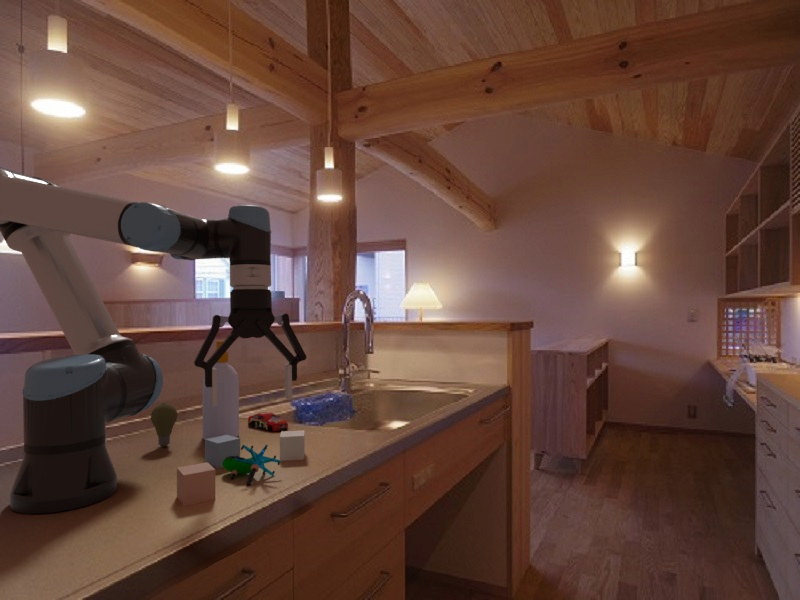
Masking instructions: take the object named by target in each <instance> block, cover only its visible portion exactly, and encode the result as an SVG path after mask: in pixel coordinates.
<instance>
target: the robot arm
mask: <svg viewBox="0 0 800 600" xmlns="http://www.w3.org/2000/svg"><path fill="white" fill-rule="evenodd" d="M270 219H271V218H270V213H269V210H268V209H266V208H265V207H263V206H259V205H254V204H253V205H252V204H240V205H239V204H238V205H233V206H231V207H230V208H229V210H228V214H227V217H225V218H214V219H213V218H210V219H209V218H208V219H205V218H204V219H203V218H198V217H196V216H192V215H190V214H187V213H184V212H180V211H177V210H174V209H171V208H168V207H166V206H165V205H163V204H159V203H153V202H148V201H147V202H146V201H143V202H137V201H134V200H130V199H124V198H119V197H114V196H109V195H103V194H98V193H92V192H89V191H88V192H87V191H84V190H83V191H82V190H79V189H78V190H77V189H72V188H69V187H68V188H67V187H63V186H58V185H57V184H55V183H53V182H49V180H46V179H43V178H40V177H37V176H30V175H27V174H24V173H21V172H16V171H15V170H11V169H7V168H3V167H0V233H1V235H2V237H3V239H4V241H5V242H6V244H7V247H8V248H9V249H11V250H13V251H16V252H19V253H21V254H22V256H23V259H24V260H25V262H26V264H27V266H28V268H29V270H30V271H31V273H32V275H33V277H34V280H35V281H36V283H37V285H38V287H39V289H40V291H41V293H42V295H43V297H44V298H45V300H46V302H47V304H48V306H49V307H50V308H49V309H51V312H52V313H53V315H54V317H55V320H56V321H57V324H58V325H59V326H60V329H61V330H62V333H63V334H64V336H65V339H66V341H67V342H68V344H69V345H70V348H71V350H72V352H73V355H66V356H58V357H53V358H48V359H45V360H40V361H38V362H36V363H33V364H32V365H30V366H29V367H28V368H27V369H26V371H25V374H24V385H23V388H22V395H23V396H22V397H23V398H22V401H23V406H22V407H23V457H22V460H21V462H20V463H21V464H20V465H19V468H18V471H17V474H16V477H15V480H14V482H13V485H12V488H11V490H10V495H9V507H10V509H11V510H12V511H13V512H17V513H20V514H36V515H37V514H49V513H57V512H58V513H59V512H64V511H70V510H74V509H78V508H81V507H82V508H83V507H86V506H89V505H92V504H96V503H98V502H100V501H103V500H106V499H107V498H109V497H110V496H112V495H113V494H115V493H116V492H117V489H118V478H117V477H118V476H117V473H116V471H115V468H114V464H113V462H112V460H111V457H110V454H109V452H108V449H107V444H106V433H107V432H106V424H107V423H110V422H115V421H116V420H120V419H123V418H127V417H132V416H133V417H134V416H135V415H137V414H139V413H140V412H143V411H145V410H148V409H149V408H150V407H152V406H153V405H154V404H155V403H156V402H157V400H158V399H159V397H160V395H161V392H162V389H163V387H164V376H163V371H162V368H161V365H159V363H158V362H157V360H155V359H154V358H153V357H151V356H148V355H146V354H143V353H140V351H139V349H138V347H137V345H136V344H135V342H134V340H133V339H132V338H129V337H125V336H122V335H121V333H120V331H119V330H118V327H117V326H116V323H115V321H114V320H113V319H112V318H113V317H111V314H110V313H109V311H108V308H107V307H106V305H105V303H104V301H103V300H102V297H101V296H100V294H99V291H98V290H97V288H96V287H95V285H94V282H93V281H92V278H91V276H90V274H89V273H88V271H87V270H86V268H85V265H84V263H83V262H82V260H81V258H80V256H79V254H78V252H77V250H76V249H75V247H74V244H73V242H72V240H71V239H70V236H71V234H72V235H75V236H81V237H86V238H90V239H95V240H96V239H97V240H101V241H106V242H111V243H114V244H121V245H126V246H131V247H133V248H137V249H138V248H139V249H140V250H144V251H149V252H156V253H157V252H158V253H163V254H169V255H170V256H171V257H172V258H173V259H175V260H183V261H195V260H206V259H207V260H208V259H209V260H210V259H229V286H230V287H231V288H233V289H232V290H231V291H230V292H229V295H230V296H229V298H230V299H229V305H230V306H229V307H230V308H229V309H230V312H229V314H228V316H224V315H219V314H214V315H213V316H212V322H211V328H210V329H209V331H208V333H207V336H206V337H205V339H204V341H203V343H202V345H201V346H200V349H199V351H198V353H197V354H196V357H195V359H194V361H193V364H194V366H195V367H197V368H202V369H203V370H204V374H205V385H206V387H211V396H212V406H217V370H216V368H213V369H212V367H213V366H214V365H215V364H216V363H217V361H218V360H219V359H220V358H221V357H222V355H223V354H224V353H225V352H228V350H229V348H230V347H231V346H232V345H233V344H234V342H235V341H237V339H238V338H239V337H240V338H241V339H251V338H254V339H261V338H263V337H265V338H266V339H267V340H268V341H269V342H271V344H272V345H273V346H274V347H275V349H276V350H277V351H278V352H279V353H281V355H282V356H283V357H284V358H285V360H286V361H288V363H284V388H285V389H284V391H285V392H284V393H285V394H284V395H285V399H287V400H293V381H297V380H298V365H299V363H301V362H302V361H306V359H307V355H306V353H305V351H304V349H303V347H302V345H301V343H300V341H299V339H298V337H297V336H296V334H295V331H294V329H293V327H292V326H291V324H290V316H289V314H288V313H286V312H285V313H281V314H277V315H276V314H275V315H274V314H273V311H272V310H273V305H272V302H273V300H272V291H271V289H269V288H271V286H272V262H271V261H272V260H271V259H272V258H271V256H272V253H271V251H272V250H271V248H272V247H271V245H272V244H271V241H272V239H271V238H272V230H271V220H270ZM275 322H276V323H277V324H278V325H279V326H280V327H281V329H282V330H283V332H284V335H285V336H286V337H287V340H288V341H289V344H290V345H291V348H292V351H294V353H295V355H294V354H293V353H292V352H291V351H290V350H289V349H288V348H287V347H286V345H285V344H284V343H283V342H282V341H281V340H280V338H278V336H276V333H274V331H272V329H271V327H272V325H273V324H274V323H275ZM226 323H228V325H229V326H230V327H231V328H232V330H231V332H230V333H229V334H228V336H227V337H226V338H225V339H224V340H225V341H224V340H223V341H224V342H223V343H222V344H221V345H220V346H219V348H218V349H217V350H216V351H215V350H214V352H213V353H214V354H212V355H211V356H210V357H209V358H208V359H207V361H205V359H206V357H207V355H208V353H209V351H210V349H211V347H212V345H213V343H214V341H215V338H216V337H217V335H218V333H219V330H220V328H223V327H224V325H225V324H226Z"/></svg>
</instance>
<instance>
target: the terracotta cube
mask: <svg viewBox="0 0 800 600" xmlns="http://www.w3.org/2000/svg"><path fill="white" fill-rule="evenodd" d="M176 498H177V499H178V500H179V502H180V503H181V505H182V506H183V507H185V506H191V505H195V504H201V503H205V502H209V501H214V500H216V468H215V467H213V466H211V465H210V464H209V463H208V462H207V463H205V462H201V463H196V464H191V465H184V466H179V467H176Z"/></svg>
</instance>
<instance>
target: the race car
mask: <svg viewBox="0 0 800 600" xmlns="http://www.w3.org/2000/svg"><path fill="white" fill-rule="evenodd" d="M280 417H281V416H280V415H276V414H275V413H273V412H269V411H265V412H258V413H254V414H251V415H249V416H248V419H247V425H248V426H249V427H250V428H252V429H253V428H254V429H259V430H264V431H268V432H270V433H272V432H277V431H284V430H287V429H288V428H289V423H288V421H287V420H285V419H282V418H280Z"/></svg>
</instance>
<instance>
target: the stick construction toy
mask: <svg viewBox="0 0 800 600" xmlns="http://www.w3.org/2000/svg"><path fill="white" fill-rule="evenodd" d="M268 446H269V445H268V444H265V445H264V447H262V450H261V451H260V452H259V453H258V452H256V451H255V450H254V445H251V446H250V447H248V446H247V445H246V444H242V445H241V446H240V451H242V450H245V451H247V452H248V453H249V454H251V457H248V458H244V457H241V456H240V457H239V456H236V457H235V456H229V457H226V458H225V459H224V461H223V467H222V468H223V469H225V470H226V471H227V472H230V475H231V476H230V479H231V480H234V479H235V477H236V476H237V474H240V475H248V476H249V477H248V479H247V482H246V485H245V486H252V482H253V479H254V478H255V476H256V473H257V472H258V471H259V469H261V470H262V475H265V474H266V473H267V474H269V475H270V476H272V477H274V474H275V470H273V471H271V470H270V469H268V468H267V467H266V466H265V464H268V463H273V462H274V463H276V464H277V466H280V465H281V462H282V461H281V460H280V459H277V455H274V456H273V457H268V456H264V454H265V452H266V450H267V449H268Z"/></svg>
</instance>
